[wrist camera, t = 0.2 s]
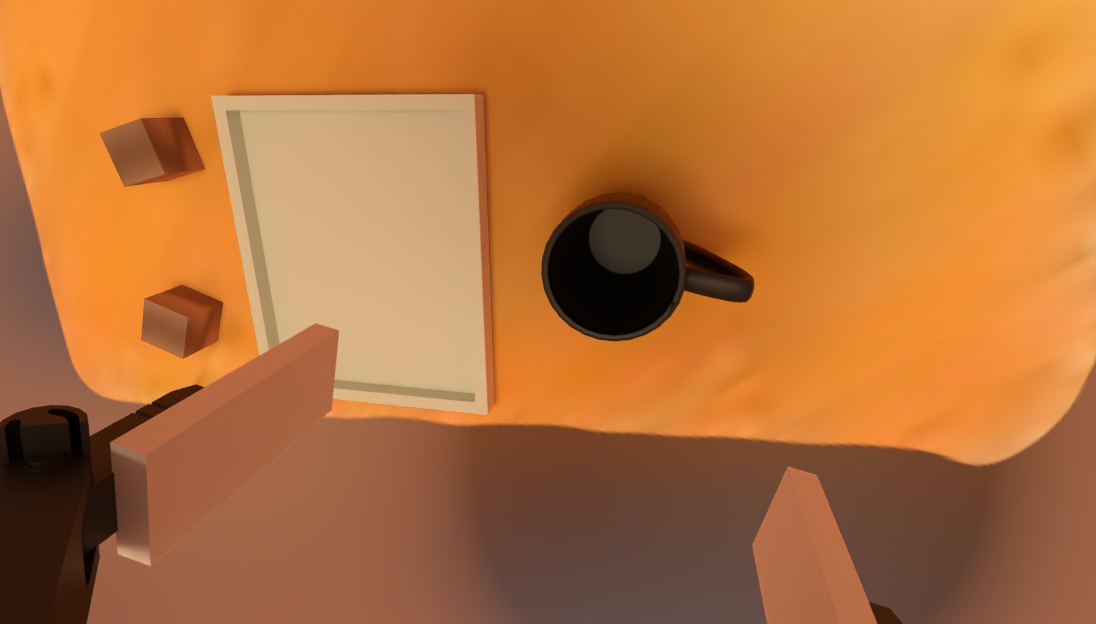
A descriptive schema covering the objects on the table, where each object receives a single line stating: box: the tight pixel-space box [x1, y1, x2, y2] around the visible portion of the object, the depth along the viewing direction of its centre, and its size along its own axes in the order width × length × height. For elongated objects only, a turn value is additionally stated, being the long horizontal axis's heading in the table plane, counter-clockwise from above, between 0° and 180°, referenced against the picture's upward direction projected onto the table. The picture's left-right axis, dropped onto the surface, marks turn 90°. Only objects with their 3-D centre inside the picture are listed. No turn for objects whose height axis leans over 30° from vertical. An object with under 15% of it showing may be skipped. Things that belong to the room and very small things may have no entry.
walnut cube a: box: [100, 118, 205, 187], centre depth 44 cm, size 4×4×4 cm
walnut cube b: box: [141, 285, 223, 359], centre depth 49 cm, size 4×4×4 cm
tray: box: [211, 94, 495, 415], centre depth 44 cm, size 24×20×2 cm
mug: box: [541, 193, 754, 341], centre depth 36 cm, size 8×12×10 cm
